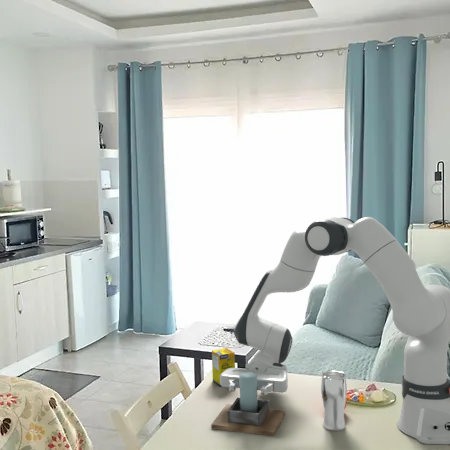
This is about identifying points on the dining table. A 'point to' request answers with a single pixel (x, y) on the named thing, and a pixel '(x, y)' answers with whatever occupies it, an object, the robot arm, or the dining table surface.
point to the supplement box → (221, 362)
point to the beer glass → (334, 399)
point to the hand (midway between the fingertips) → (247, 390)
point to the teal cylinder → (248, 392)
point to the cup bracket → (249, 419)
